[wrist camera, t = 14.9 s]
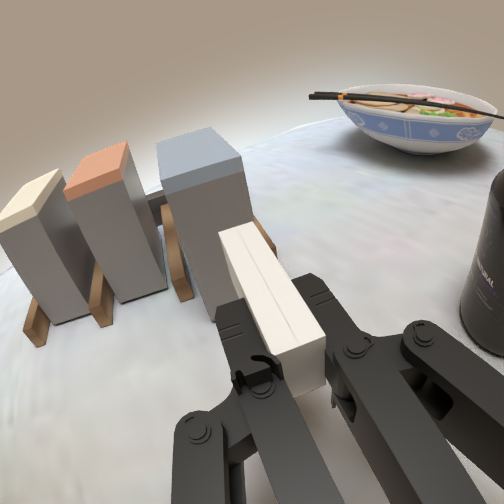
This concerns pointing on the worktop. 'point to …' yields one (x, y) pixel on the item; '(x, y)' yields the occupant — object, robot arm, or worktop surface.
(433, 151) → the ramen bowl
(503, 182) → the supplement bottle
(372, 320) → the worktop surface
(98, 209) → the terracotta key
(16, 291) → the worktop surface
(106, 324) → the key bed
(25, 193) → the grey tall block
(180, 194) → the slate key
